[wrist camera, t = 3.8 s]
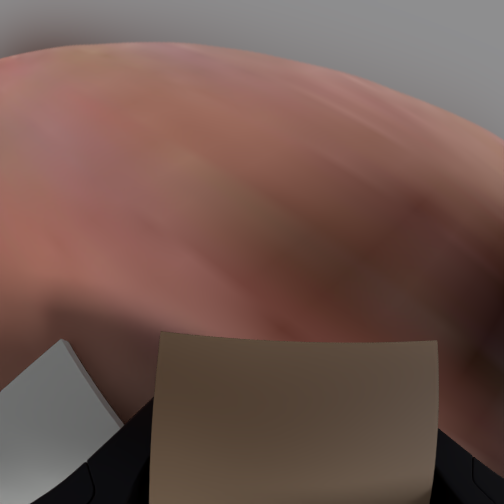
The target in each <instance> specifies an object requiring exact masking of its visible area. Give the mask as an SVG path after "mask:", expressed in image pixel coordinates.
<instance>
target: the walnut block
mask: <svg viewBox="0 0 504 504" xmlns="http://www.w3.org/2000/svg"><path fill="white" fill-rule="evenodd" d="M438 407H439V370H438V345H437V340H435V341H415V342H383V343H321V342H288V341H267V340H250V339H235V338H222V337H210V336H199V335H189V334H180V333H170V332H162V331H161V333H160V342H159V351H158V360H157V370H156V380H155V391H154V404H153V418H152V433H151V453H150V483H149V504H429V503H430V497H431V491H432V484H433V476H434V467H435V458H436V446H437V432H438Z"/></svg>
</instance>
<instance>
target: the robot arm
mask: <svg viewBox="0 0 504 504" xmlns="http://www.w3.org/2000/svg"><path fill="white" fill-rule="evenodd" d="M153 404H154V397H153V398H152V399H151V400H150V401H149V402H148V403H147V404H146V405H145V406H143V407H142V408H141V409H140V410H139V411H138V412H137V413H136V414H135V415H134V416H133V417H132V418H131V419H130V420H129V421H128V422H127V423H126V424H125V425H124V426H123V427H122V428H121V429H119V430H118V431H117V432H116V433H115V434H114V435H113V436H112V437H111V438H110V439H109V440H108V441H107V442H106V443H105V444H104V445H102V446H101V447H100V448H99V449H98V450H97V451H96V452H95V453H94V454H93V455H92V456H91V457H90V458H88V459H87V462H84V463H83V464H82V465H81V466H80V467H78V468H77V469H76V470H75V471H74V472H73V473H72V474H70V475H69V476H68V477H67V478H66V479H65V480H63V481H62V482H61V483H59V484H58V485H57V486H55V487H54V488H52V489H51V490H50V491H48V492H47V493H45V494H44V495H42V496H41V497H39V498H38V499H36V500H35V501H33V502H32V503H30V504H149V483H150V453H151V433H152V418H153ZM429 504H504V478H502V477H501V476H499V475H498V474H496V473H495V472H493V471H492V470H491V469H489V468H488V467H487V466H485V465H484V464H483V463H481V462H480V461H479V460H477V459H476V458H475V457H472V455H471V454H470V453H468V452H467V451H466V450H465V449H463V448H462V447H461V446H460V445H458V444H457V443H456V442H455V441H453V440H452V439H451V438H450V437H448V436H447V435H446V434H445V433H443V432H442V431H441V430H440V429H439V428H438V432H437V446H436V458H435V467H434V476H433V484H432V491H431V497H430V503H429Z"/></svg>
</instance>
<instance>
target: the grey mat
mask: <svg viewBox="0 0 504 504" xmlns="http://www.w3.org/2000/svg"><path fill="white" fill-rule="evenodd" d="M123 426H124V424H123V422H122V421H121V420H120V419H119V417H118V416H117V415H116V413H115V412H114V411H113V409H112V408H111V406H110V405H109V404H108V402H107V401H106V399H105V398H104V397H103V395H102V394H101V392H100V391H99V389H98V388H97V387H96V385H95V384H94V382H93V381H92V379H91V378H90V376H89V374H88V373H87V371H86V370H85V368H84V367H83V365H82V364H81V362H80V360H79V359H78V357H77V355H76V354H75V352H74V350H73V349H72V347H71V345H70V344H69V342H68V341H66V340H63V339H60V340H59V341H58V342H57V343H55V344H54V345H53V346H52V347H51V348H50V349H48V350H47V351H46V352H45V353H44V354H42V355H41V356H40V357H39V358H38V359H37V360H36V361H34V362H33V363H32V364H31V365H30V366H29V367H27V368H26V369H25V370H24V371H23V372H22V373H21V374H20V375H18V376H17V377H16V378H15V379H14V380H13V381H12V382H11V383H9V384H8V385H7V386H6V387H5V388H4V389H3V390H2V391H1V392H0V504H30V503H32V502H33V501H35V500H36V499H38V498H39V497H41V496H42V495H44V494H45V493H47V492H48V491H50V490H51V489H52V488H54V487H55V486H57V485H58V484H59V483H61V482H62V481H63V480H65V479H66V478H67V477H68V476H69V475H70V474H72V473H73V472H74V471H75V470H76V469H77V468H78V467H80V466H81V465H82V464H83V463H84V462H87V459H88V458H90V457H91V456H92V455H93V454H94V453H95V452H96V451H97V450H98V449H99V448H100V447H101V446H102V445H104V444H105V443H106V442H107V441H108V440H109V439H110V438H111V437H112V436H113V435H114V434H115V433H116V432H117V431H118V430H119V429H121V428H122V427H123Z"/></svg>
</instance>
